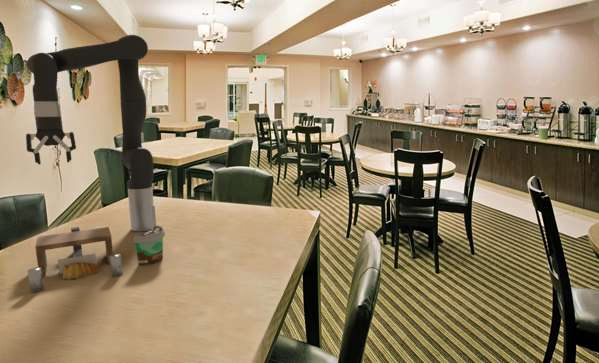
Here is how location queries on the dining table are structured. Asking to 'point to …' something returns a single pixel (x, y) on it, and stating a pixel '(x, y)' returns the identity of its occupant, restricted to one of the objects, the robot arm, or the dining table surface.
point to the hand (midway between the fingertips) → (54, 163)
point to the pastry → (78, 270)
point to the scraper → (76, 255)
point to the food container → (150, 246)
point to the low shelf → (71, 243)
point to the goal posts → (37, 280)
